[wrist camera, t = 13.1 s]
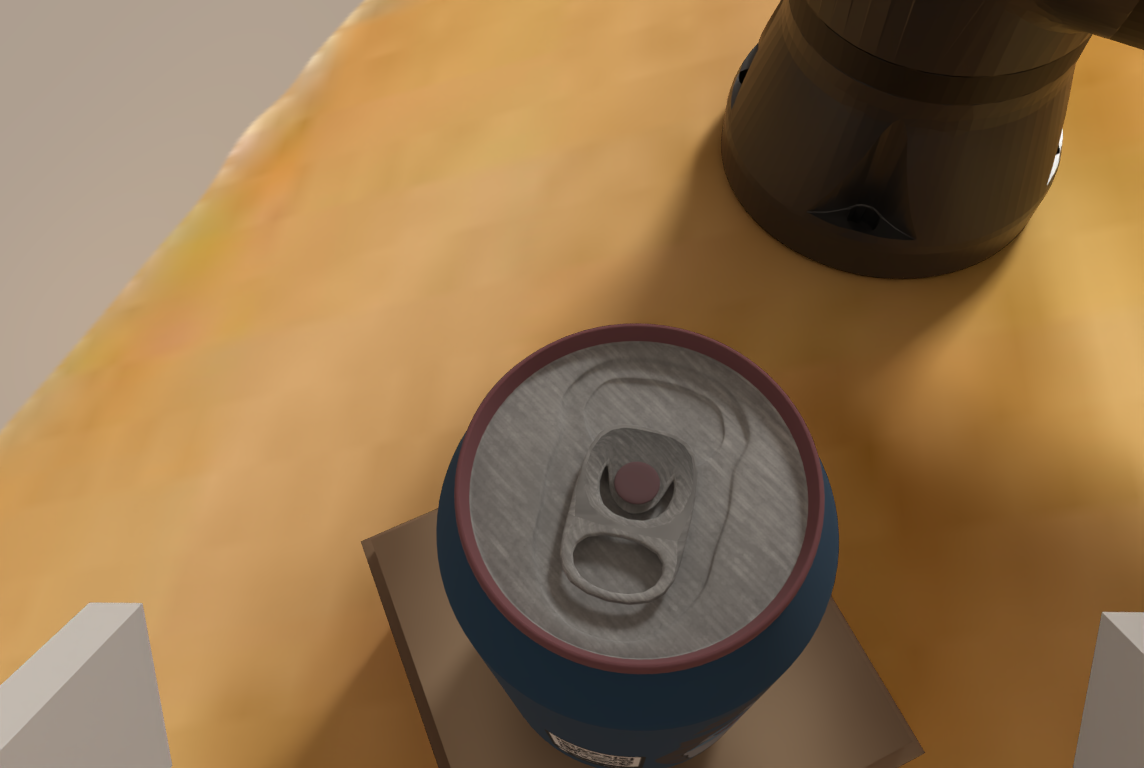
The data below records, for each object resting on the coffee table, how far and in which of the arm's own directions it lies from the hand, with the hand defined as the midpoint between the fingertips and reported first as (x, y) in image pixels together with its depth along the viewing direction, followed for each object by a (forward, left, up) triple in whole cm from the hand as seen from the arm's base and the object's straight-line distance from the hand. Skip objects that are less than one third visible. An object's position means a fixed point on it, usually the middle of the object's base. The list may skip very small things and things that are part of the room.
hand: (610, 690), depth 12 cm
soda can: (-2, -3, -12) cm, 12 cm away
